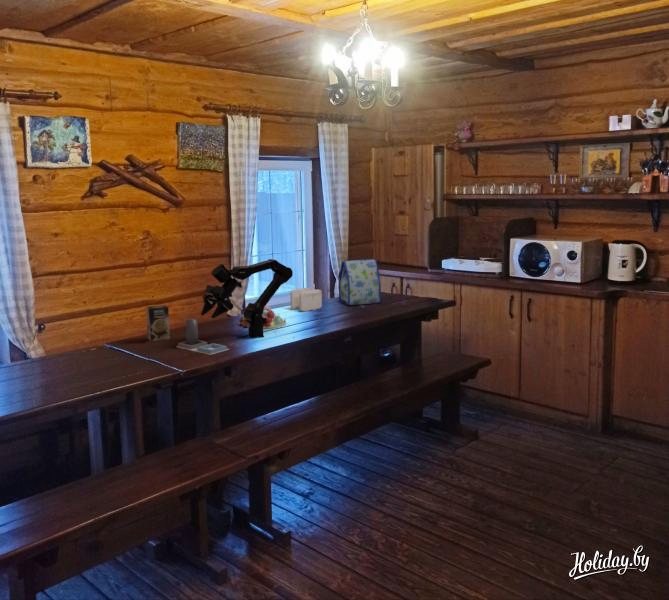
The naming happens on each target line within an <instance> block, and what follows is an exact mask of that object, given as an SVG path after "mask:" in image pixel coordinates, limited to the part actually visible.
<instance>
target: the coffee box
mask: <svg viewBox="0 0 669 600" xmlns="http://www.w3.org/2000/svg"><path fill="white" fill-rule="evenodd" d="M145 311H146V323H147V324H146V325H147V340H149V341H150V342H154V341H155V342H156V341H159V340H160V341H162V340H170V339H171V335H170V334H171V332H170V317H169V316H170V315H169V314H170V313H169V312H170V311H169V306H168V305H165V304H164V305H153V306H152V305H151V306H146V310H145Z"/></svg>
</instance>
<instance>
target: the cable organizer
mask: <svg viewBox="0 0 669 600" xmlns="http://www.w3.org/2000/svg"><path fill="white" fill-rule="evenodd" d="M289 293H290V294H289V296H290V308H291V309H292V310H294V311H297V310H300V311H301V312H304V313H306V312H309V311H318V310H317V309H321V308H322V307H323V294H322V293H323V292H322V290H321V289H311V288H309V287H304V288H302V287H301V288H295V289H292V290H290V292H289Z"/></svg>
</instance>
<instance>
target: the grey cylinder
mask: <svg viewBox="0 0 669 600" xmlns="http://www.w3.org/2000/svg"><path fill="white" fill-rule="evenodd" d="M198 327H199V326H198V318H197V317H196V318H195V317H193V318H192V317H191V318H186V319H185V329H186V330H185V333H186V334H185V335H186V341H187V344H188V345H195V344H198V340H199V330H198Z"/></svg>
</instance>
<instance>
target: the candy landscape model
mask: <svg viewBox="0 0 669 600" xmlns="http://www.w3.org/2000/svg"><path fill="white" fill-rule="evenodd" d="M271 308H272V307H270V306H268V305H266V306H265V307H264V310H263V314H262V317H263V318H265V319H266V322H265V324H263V330H273V329H278V328H283V327H284V326H286V325H287V321H286V318H284V319H283V318H282V317H281V316H280V315H277V314H276V313H275V312H274V311H273V310H272V309H271ZM243 313H244V311H242V314H243ZM237 324H238V326H241V327H242V328H248V326H249V323H247V321H246V319H245V318H244V315H243V316H241V318H240V319H239V320H238V323H237Z"/></svg>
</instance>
